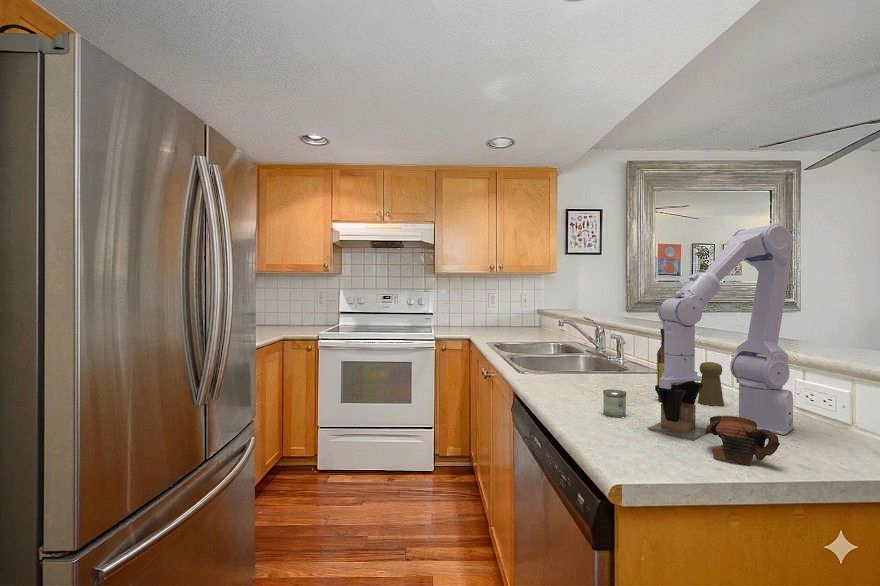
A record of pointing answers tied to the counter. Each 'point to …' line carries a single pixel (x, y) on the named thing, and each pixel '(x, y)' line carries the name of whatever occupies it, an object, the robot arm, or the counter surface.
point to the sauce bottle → (660, 359)
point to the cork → (711, 384)
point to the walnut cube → (681, 419)
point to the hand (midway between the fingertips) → (679, 417)
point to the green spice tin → (614, 403)
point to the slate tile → (690, 435)
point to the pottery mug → (741, 439)
